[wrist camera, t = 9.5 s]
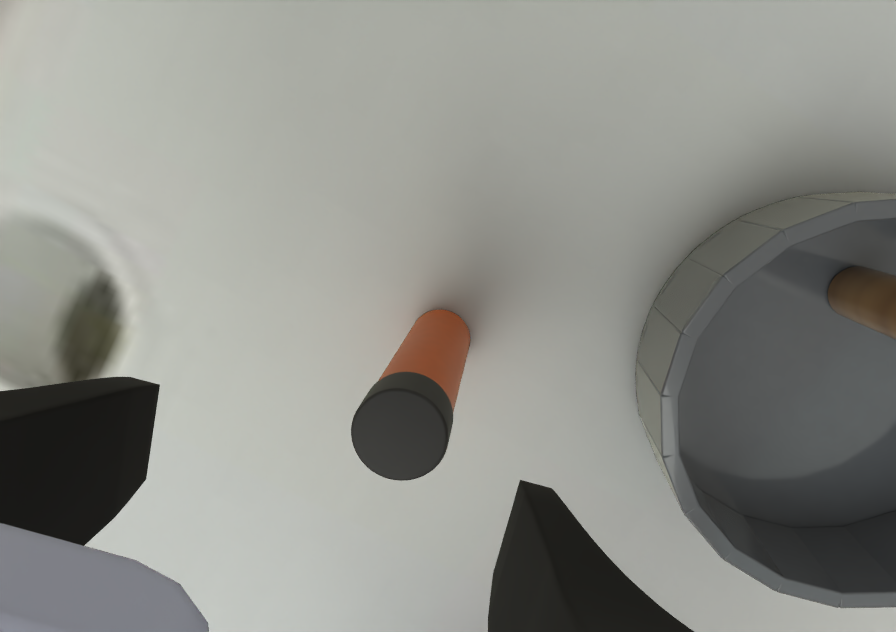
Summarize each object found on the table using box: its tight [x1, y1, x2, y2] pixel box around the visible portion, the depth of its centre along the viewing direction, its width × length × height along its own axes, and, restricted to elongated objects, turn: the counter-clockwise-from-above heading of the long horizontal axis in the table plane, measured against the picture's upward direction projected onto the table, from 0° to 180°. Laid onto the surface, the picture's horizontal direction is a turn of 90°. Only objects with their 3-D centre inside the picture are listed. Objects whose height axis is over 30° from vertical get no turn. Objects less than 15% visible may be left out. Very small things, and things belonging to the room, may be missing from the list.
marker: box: [351, 310, 470, 480], centre depth 18 cm, size 2×2×8 cm
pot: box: [635, 192, 896, 608], centre depth 20 cm, size 11×11×4 cm
